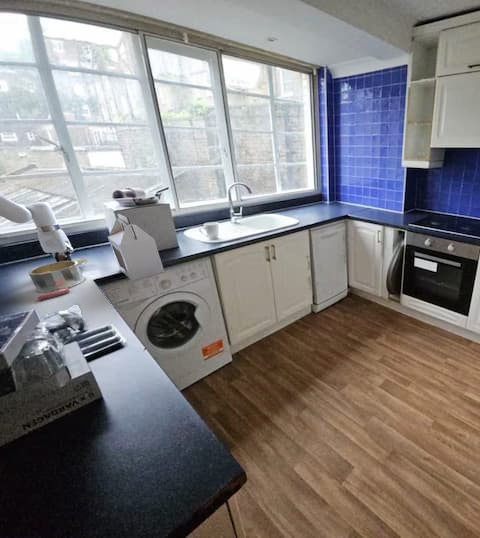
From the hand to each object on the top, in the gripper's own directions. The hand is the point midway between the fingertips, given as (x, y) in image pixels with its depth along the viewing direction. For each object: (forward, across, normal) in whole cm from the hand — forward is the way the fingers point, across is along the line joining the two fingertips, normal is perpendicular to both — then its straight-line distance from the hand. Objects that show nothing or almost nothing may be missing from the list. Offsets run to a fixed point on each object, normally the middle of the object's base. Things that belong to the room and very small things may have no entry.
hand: (65, 263), depth 147 cm
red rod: (+4, +19, -30) cm, 36 cm away
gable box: (+4, +40, -6) cm, 41 cm away
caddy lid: (+1, 0, 0) cm, 1 cm away
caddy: (+4, +11, -17) cm, 21 cm away
